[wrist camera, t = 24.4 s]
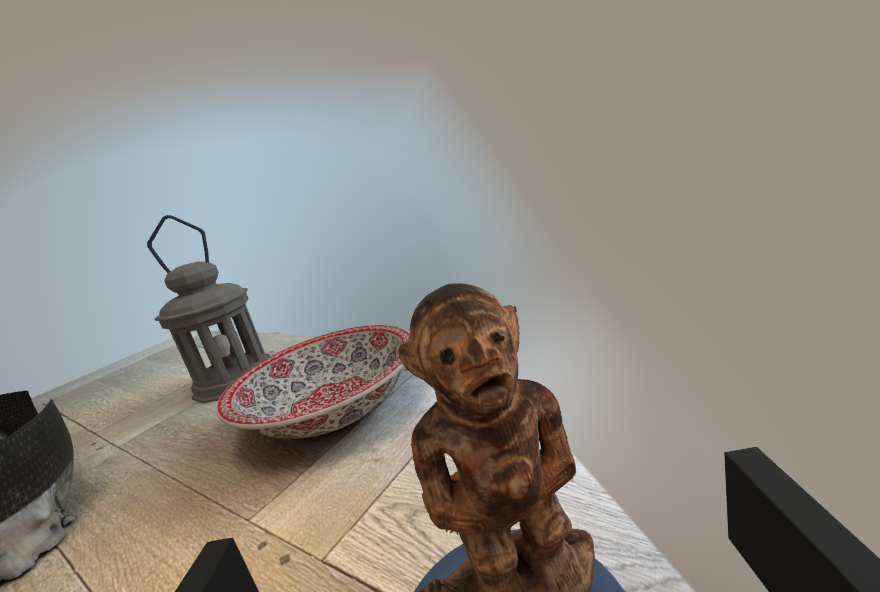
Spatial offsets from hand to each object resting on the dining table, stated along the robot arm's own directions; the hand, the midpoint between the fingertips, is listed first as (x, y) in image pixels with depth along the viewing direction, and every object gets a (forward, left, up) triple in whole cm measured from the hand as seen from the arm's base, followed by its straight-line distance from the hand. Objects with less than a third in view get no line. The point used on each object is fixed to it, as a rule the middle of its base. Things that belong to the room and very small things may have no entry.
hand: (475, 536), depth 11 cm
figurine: (+2, -3, -10) cm, 10 cm away
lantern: (+75, -41, -22) cm, 88 cm away
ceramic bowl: (+41, -33, -22) cm, 57 cm away
